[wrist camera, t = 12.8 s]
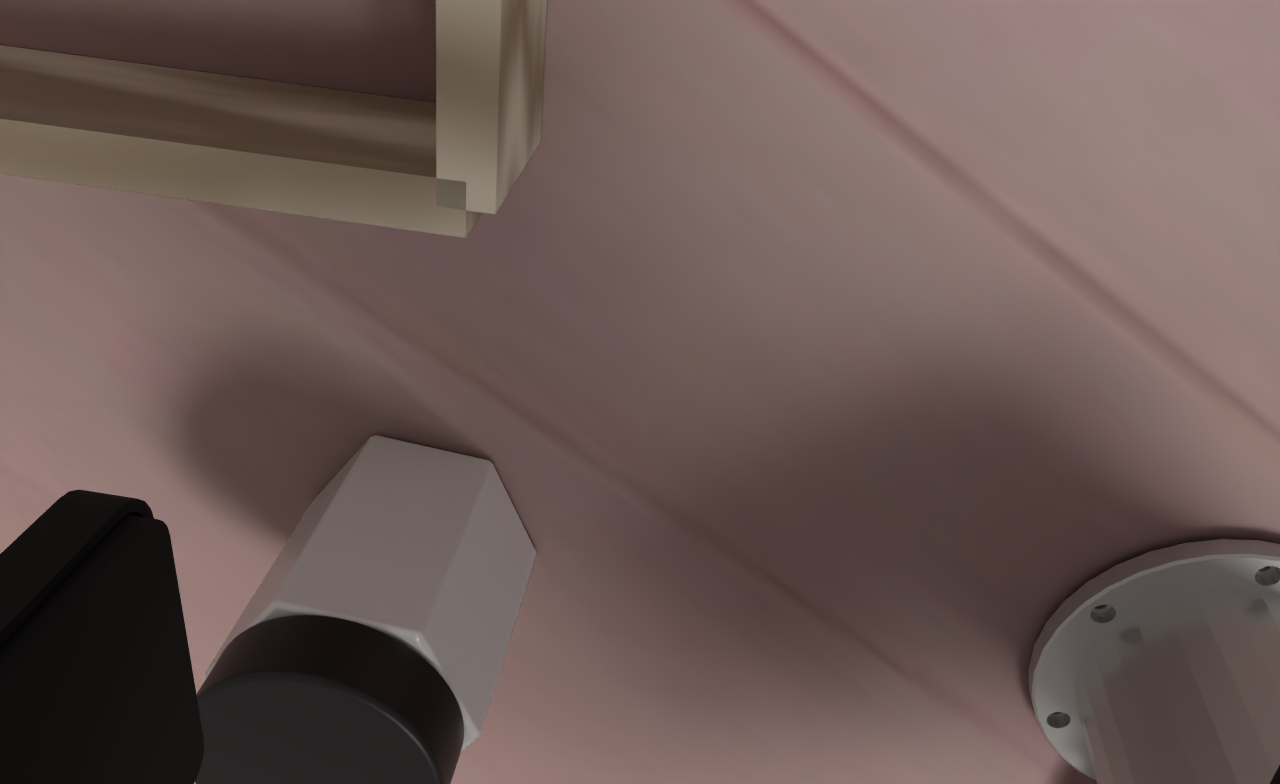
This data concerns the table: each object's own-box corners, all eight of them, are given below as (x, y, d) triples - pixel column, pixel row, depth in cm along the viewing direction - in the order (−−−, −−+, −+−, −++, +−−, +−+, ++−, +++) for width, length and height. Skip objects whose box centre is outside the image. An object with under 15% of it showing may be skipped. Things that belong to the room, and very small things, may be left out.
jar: (310, 578, 45) (169, 827, 35) (315, 415, 41) (156, 644, 31) (524, 626, 45) (444, 890, 35) (551, 468, 41) (470, 715, 31)
